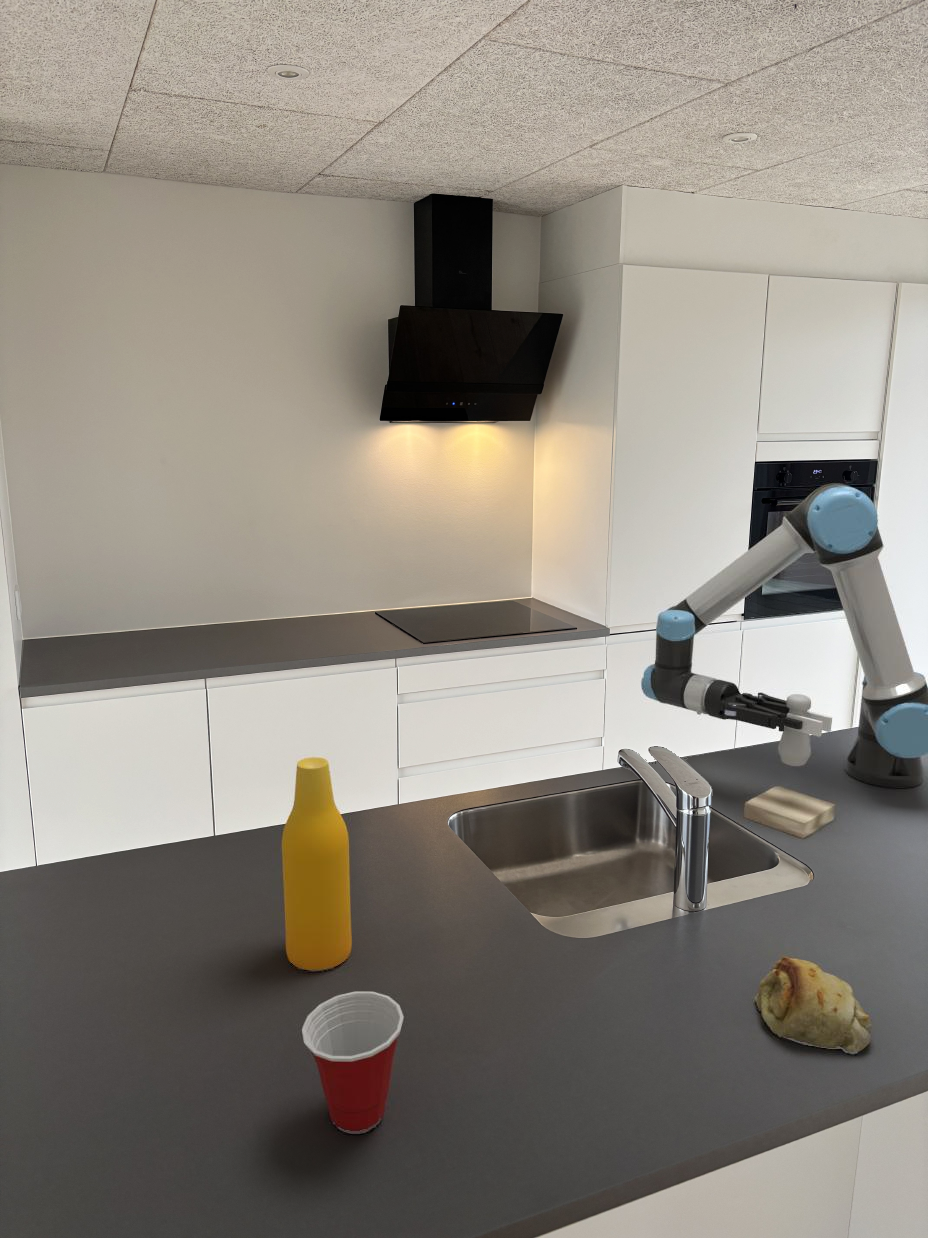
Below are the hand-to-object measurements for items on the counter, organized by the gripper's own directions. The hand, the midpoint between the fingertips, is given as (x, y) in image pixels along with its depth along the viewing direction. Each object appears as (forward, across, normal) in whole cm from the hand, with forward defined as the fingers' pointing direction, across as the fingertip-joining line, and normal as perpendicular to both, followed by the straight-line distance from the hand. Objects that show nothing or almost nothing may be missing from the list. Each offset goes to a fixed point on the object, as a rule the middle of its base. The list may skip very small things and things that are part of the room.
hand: (825, 726), depth 163 cm
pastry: (+26, +53, -20) cm, 63 cm away
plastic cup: (0, +105, -20) cm, 107 cm away
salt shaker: (-5, 0, -9) cm, 10 cm away
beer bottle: (-28, +91, -20) cm, 97 cm away
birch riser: (-5, 0, -20) cm, 21 cm away
